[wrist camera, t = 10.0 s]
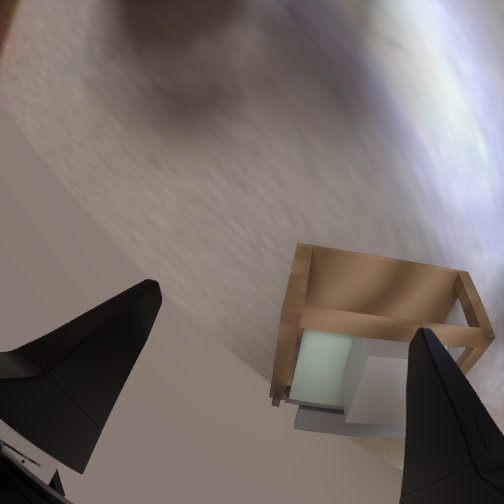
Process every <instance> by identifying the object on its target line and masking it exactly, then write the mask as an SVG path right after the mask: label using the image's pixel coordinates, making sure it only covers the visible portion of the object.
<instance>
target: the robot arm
mask: <svg viewBox="0 0 504 504" xmlns="http://www.w3.org/2000/svg"><path fill="white" fill-rule="evenodd" d="M161 304H162V295H161V291H160V286H159V283H158V282H157V281H156V280H151V279H146V280H144V281H142V282H140V283H138V284H136V285H135V286H133V287H131V288H129V289H127V290H125V291H124V292H122V293H120V294H118V295H116V296H115V297H113V298H111V299H109V300H107V301H105V302H104V303H102V304H100V305H98V306H97V307H95V308H93V309H91V310H89V311H88V312H86V313H84V314H82V315H80V316H79V317H77V318H75V319H73V320H72V321H70V322H69V323H66V324H65V325H63V326H61V327H59V328H58V329H55V330H54V331H52V332H50V333H48V334H46V335H44V336H42V337H40V338H38V339H36V340H34V341H31V342H29V343H27V344H25V345H23V346H21V347H19V348H17V349H14V350H12V351H8V352H0V504H73V503H72V502H70V501H69V500H67V499H66V498H64V496H65V493H64V490H63V487H62V484H61V481H60V477H59V473H58V470H57V468H58V466H59V464H60V462H61V463H62V464H64V465H66V466H67V467H69V468H71V469H73V470H74V471H76V472H78V473H80V474H83V472H84V470H85V468H86V466H87V463H88V461H89V459H90V457H91V454H92V452H93V450H94V448H95V445H96V443H97V441H98V439H99V437H100V435H101V432H102V430H103V428H104V426H105V423H106V421H107V419H108V417H109V415H110V413H111V410H112V409H113V406H114V404H115V402H116V400H117V398H118V396H119V394H120V392H121V389H122V388H123V386H124V383H125V382H126V380H127V378H128V376H129V374H130V372H131V370H132V368H133V366H134V364H135V362H136V360H137V358H138V356H139V354H140V352H141V351H142V349H143V347H144V345H145V343H146V341H147V339H148V336H149V334H150V331H151V329H152V327H153V324H154V321H155V319H156V316H157V314H158V311H159V309H160V306H161ZM399 504H504V435H503V434H502V432H501V431H500V430H499V428H498V427H497V425H496V424H495V422H494V421H493V419H492V418H491V416H490V414H489V413H488V411H487V410H486V408H485V407H484V405H483V403H481V400H480V399H479V397H478V395H477V394H476V392H475V391H474V389H473V388H472V386H471V385H470V383H469V382H468V380H467V379H466V377H465V376H464V374H463V373H462V371H461V370H460V368H459V367H458V365H457V364H456V363H455V361H454V360H453V358H452V357H451V355H450V354H449V353H448V351H447V350H446V348H445V347H444V346H443V344H442V343H441V342H440V340H439V339H438V337H437V336H436V335H435V333H434V332H433V331H432V330H431V329H430V328H425V327H420V328H418V330H417V331H416V333H415V335H414V337H413V338H412V340H411V342H410V344H409V349H408V367H407V381H406V437H405V456H404V469H403V479H402V488H401V497H400V502H399Z"/></svg>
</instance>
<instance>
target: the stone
mask: <svg viewBox="0 0 504 504" xmlns="http://www.w3.org/2000/svg"><path fill="white" fill-rule="evenodd" d="M409 344H410V343H408V342H398V341H389V340H381V339H373V338H365V337H358V336H354V340H353V344H352V347H351V351H350V354H349V358H348V361H347V365H346V368H345V371H344V375H343V378H342V389H343V402H344V418H345V422H349V423H361V424H377V425H406V381H407V367H408V349H409Z"/></svg>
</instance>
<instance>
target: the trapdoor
mask: <svg viewBox="0 0 504 504" xmlns="http://www.w3.org/2000/svg"><path fill="white" fill-rule="evenodd" d="M353 340H354V336H351V335H344V334H337V333H330V332H324V331H318V330H311V329H305V328H304V331H303V336H302V341H301V345H300V350H299V355H298V359H297V364H296V368H295V373H294V377H293V382H292V386H291V390H290V394H287V396H286V400H285V402H286V403H291V404H298V405H299V408H298V412H297V415H296V419H295V425H294V429H299V430H306V431H312V432H320V433H328V434H338V435H348V436H361V437H379V438H405V437H406V425H377V424H361V423H349V422H345V418H344V402H343V389H342V378H343V375H344V371H345V368H346V365H347V361H348V358H349V354H350V351H351V347H352V344H353ZM444 347H445V348H446V350H447V349H448V346H444Z"/></svg>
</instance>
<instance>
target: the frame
mask: <svg viewBox="0 0 504 504" xmlns="http://www.w3.org/2000/svg"><path fill="white" fill-rule="evenodd" d="M458 297H459V300H460V303H461V306H462V308H463V311H464V314H465V317H466V320H467V323H468V326H469V327H466V326H456V325H447V324H443V323H444V321H445V320H446V318H447V316H448V315H449V313H450V311H451V309H452V308H453V306H454V304H455V302H456V300H457V298H458ZM420 327H425V328H430V329H431V330H432V331H433V332H434V333H435V335H436V336H437V337H438V339H439V340H440V342H441V343H442V344H443V346H452V347H467V348H466V349H465V351H464V352H463V353H462V355H461V356H460V357H459V359H458V360H457V361H456V364H457V365H458V367H459V368H460V370H461V371H462V373H463V374H464V376H465V375H466V374H467V373H468V371H469V370H470V369H471V368H472V367H473V365H474V364H475V363H476V362H477V361H478V359H479V358H480V357H481V356H482V354H483V353H484V352H485V350H486V349H487V348H488V347H489V345H490V344H491V343H492V341H493V340H494V338H495V335H494V332H493V329H492V327H491V324H490V321H489V319H488V316H487V314H486V311H485V309H484V306H483V304H482V302H481V299H480V297H479V295H478V292H477V290H476V288H475V286H474V284H473V281H472V279H471V277H470V275H469V273H468V272H465V271H459V270H454V269H448V268H443V267H437V266H431V265H426V264H420V263H414V262H409V261H403V260H397V259H391V258H385V257H379V256H374V255H368V254H362V253H356V252H350V251H343V250H337V249H331V248H325V247H319V246H313V245H306V244H300V243H298V244H297V248H296V253H295V257H294V261H293V266H292V270H291V274H290V278H289V283H288V287H287V291H286V295H285V299H284V303H283V307H282V312H281V319H280V327H279V334H278V341H277V349H276V356H275V363H274V369H273V376H272V383H271V389H270V396H269V397H271V398H273V400H272V406H278V407H279V404H280V400H281V399H282V400H286V396H287V394H290V390H291V386H286V385H287V381H288V377H289V372H290V368H291V364H292V359H293V355H294V350H295V345H296V341H297V340H299V341H302V336H303V331H304V328H305V329H311V330H318V331H324V332H330V333H337V334H344V335H351V336H358V337H365V338H373V339H381V340H389V341H398V342H408V343H410V342H411V340H412V338H413V337H414V335H415V333H416V331H417V330H418V328H420Z"/></svg>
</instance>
